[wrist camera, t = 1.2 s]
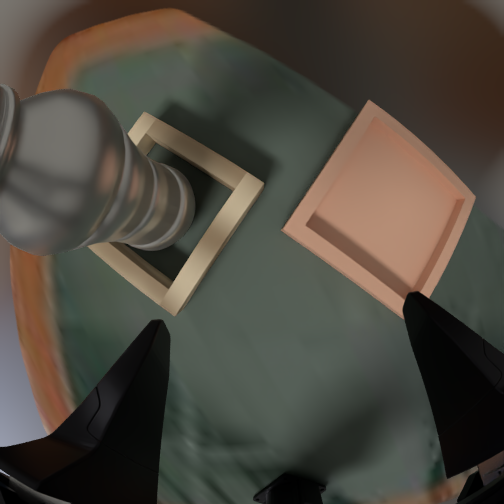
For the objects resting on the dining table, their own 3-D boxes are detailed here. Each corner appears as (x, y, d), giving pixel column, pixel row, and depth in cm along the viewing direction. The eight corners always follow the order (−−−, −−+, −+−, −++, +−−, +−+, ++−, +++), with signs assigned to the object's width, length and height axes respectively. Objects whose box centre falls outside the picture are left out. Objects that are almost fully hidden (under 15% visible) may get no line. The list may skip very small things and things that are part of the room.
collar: (183, 309, 23) (174, 316, 20) (85, 231, 23) (70, 230, 20) (263, 189, 22) (264, 183, 20) (154, 122, 23) (144, 111, 20)
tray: (402, 318, 23) (412, 324, 21) (280, 230, 23) (282, 229, 21) (464, 199, 22) (475, 197, 20) (361, 108, 22) (368, 99, 20)
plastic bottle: (117, 224, 23) (-96, 201, 3) (158, 159, 23) (-16, 23, 3) (173, 265, 23) (-56, 328, 3) (217, 196, 23) (61, 28, 3)
